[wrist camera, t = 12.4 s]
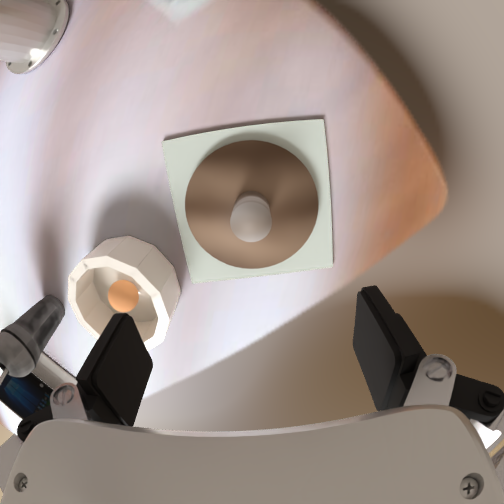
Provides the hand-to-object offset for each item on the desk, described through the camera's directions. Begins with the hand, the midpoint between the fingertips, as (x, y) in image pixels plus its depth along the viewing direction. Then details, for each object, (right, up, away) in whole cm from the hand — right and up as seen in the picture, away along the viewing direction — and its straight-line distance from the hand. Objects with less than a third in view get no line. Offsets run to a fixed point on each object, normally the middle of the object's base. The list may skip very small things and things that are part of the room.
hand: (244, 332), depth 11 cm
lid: (0, +8, +19) cm, 21 cm away
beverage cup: (-32, -6, +26) cm, 42 cm away
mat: (0, +8, +19) cm, 21 cm away
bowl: (-15, -1, +24) cm, 28 cm away
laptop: (-44, -22, +34) cm, 60 cm away
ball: (-15, -2, +21) cm, 26 cm away
